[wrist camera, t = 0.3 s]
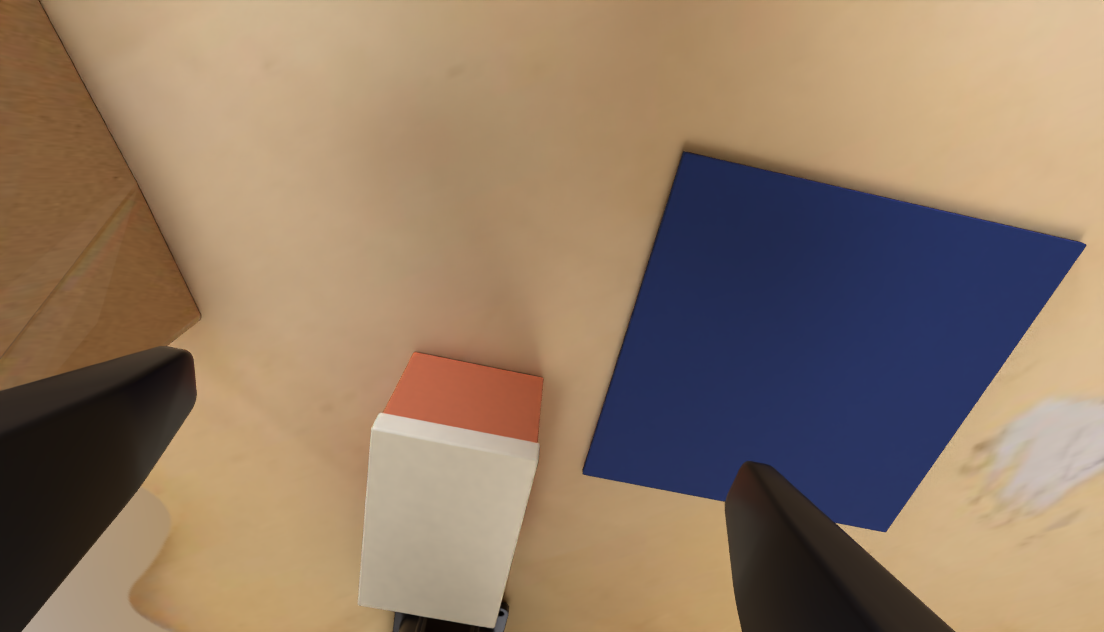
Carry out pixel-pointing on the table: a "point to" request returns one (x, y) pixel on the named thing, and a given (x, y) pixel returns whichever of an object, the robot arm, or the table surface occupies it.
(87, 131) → the sandwich container
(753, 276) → the blue cloth
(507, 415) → the box
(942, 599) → the table surface
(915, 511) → the table surface
